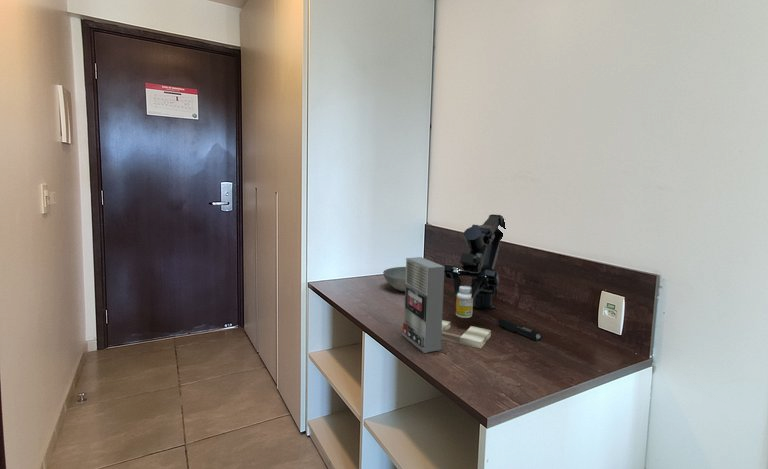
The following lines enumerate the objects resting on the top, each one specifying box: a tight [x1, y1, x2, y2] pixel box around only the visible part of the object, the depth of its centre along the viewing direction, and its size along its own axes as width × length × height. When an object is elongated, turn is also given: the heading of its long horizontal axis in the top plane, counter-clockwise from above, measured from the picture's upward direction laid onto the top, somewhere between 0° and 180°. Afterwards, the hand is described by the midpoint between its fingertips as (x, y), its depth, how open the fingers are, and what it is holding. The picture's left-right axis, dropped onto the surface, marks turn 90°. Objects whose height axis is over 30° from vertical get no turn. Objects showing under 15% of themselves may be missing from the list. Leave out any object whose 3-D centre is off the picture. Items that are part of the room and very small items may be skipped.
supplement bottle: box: [455, 285, 474, 319], centre depth 136 cm, size 5×5×10 cm
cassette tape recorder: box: [401, 256, 445, 354], centre depth 122 cm, size 14×6×25 cm, turn 24°
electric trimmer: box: [497, 317, 543, 342], centre depth 134 cm, size 4×16×3 cm, turn 36°
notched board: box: [441, 319, 492, 349], centre depth 130 cm, size 11×17×2 cm, turn 61°
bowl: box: [382, 266, 406, 293], centre depth 181 cm, size 21×21×8 cm
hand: (463, 296), depth 135 cm, fingers closed on supplement bottle, 5 cm apart
